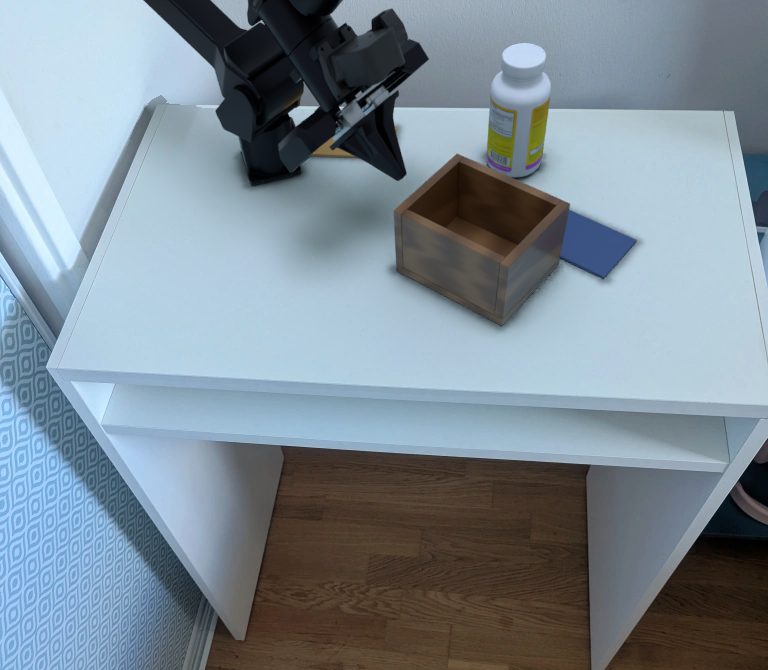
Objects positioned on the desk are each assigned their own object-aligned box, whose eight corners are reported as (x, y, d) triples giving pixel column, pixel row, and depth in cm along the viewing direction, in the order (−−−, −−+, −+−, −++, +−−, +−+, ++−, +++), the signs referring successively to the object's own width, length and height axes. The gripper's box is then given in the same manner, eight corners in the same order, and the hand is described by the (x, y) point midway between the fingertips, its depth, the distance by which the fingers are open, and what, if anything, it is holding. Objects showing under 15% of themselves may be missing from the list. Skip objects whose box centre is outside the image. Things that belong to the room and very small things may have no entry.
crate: (396, 270, 84) (393, 210, 77) (454, 215, 88) (456, 153, 81) (501, 326, 79) (508, 267, 72) (558, 265, 83) (570, 203, 76)
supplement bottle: (538, 143, 93) (553, 35, 82) (543, 179, 90) (559, 71, 79) (484, 146, 94) (491, 38, 82) (487, 181, 90) (495, 74, 79)
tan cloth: (295, 155, 95) (295, 153, 94) (304, 125, 98) (304, 123, 97) (391, 159, 93) (390, 156, 93) (397, 128, 96) (397, 126, 96)
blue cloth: (510, 234, 86) (510, 232, 85) (544, 200, 88) (544, 198, 88) (603, 279, 82) (604, 276, 81) (636, 241, 84) (637, 239, 84)
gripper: (279, 42, 65) (387, 201, 70) (412, -52, 71) (501, 100, 77) (234, 100, 74) (332, 236, 80) (355, 12, 81) (438, 143, 87)
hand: (402, 178), depth 81 cm, fingers closed
